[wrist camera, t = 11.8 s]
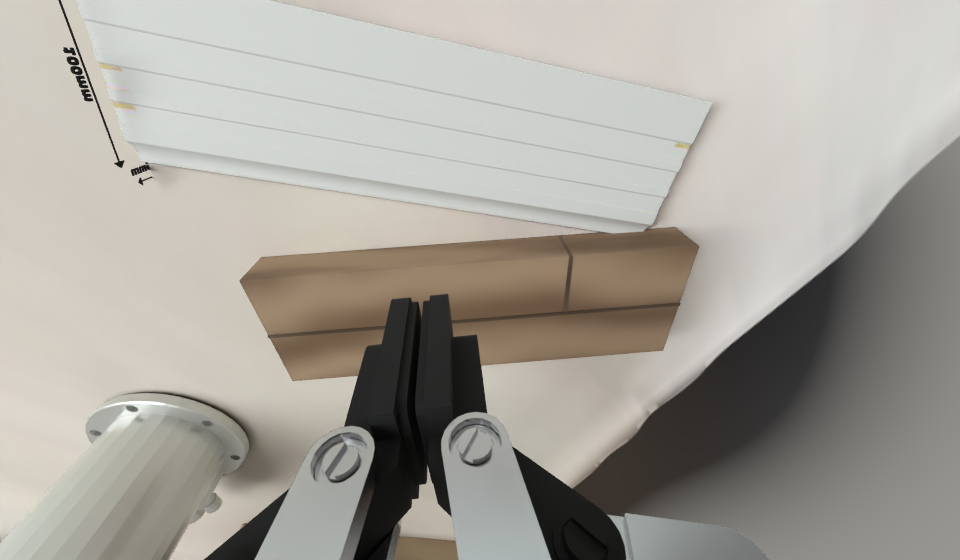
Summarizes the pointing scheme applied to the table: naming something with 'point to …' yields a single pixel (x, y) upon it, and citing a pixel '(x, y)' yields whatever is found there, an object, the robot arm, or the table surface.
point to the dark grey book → (424, 549)
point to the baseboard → (383, 112)
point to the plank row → (478, 297)
